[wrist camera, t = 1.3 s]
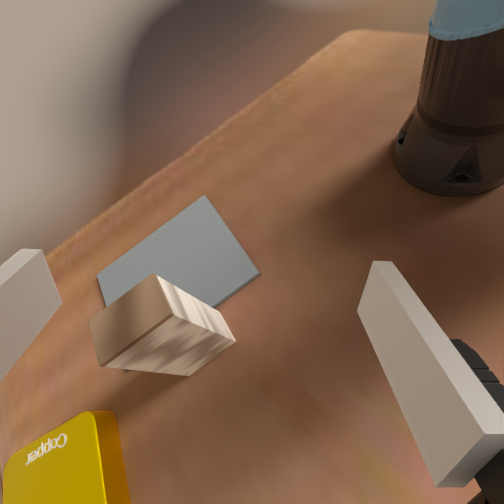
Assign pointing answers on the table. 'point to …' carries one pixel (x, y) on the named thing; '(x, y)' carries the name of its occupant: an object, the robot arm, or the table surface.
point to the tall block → (158, 330)
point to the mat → (185, 258)
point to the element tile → (70, 465)
